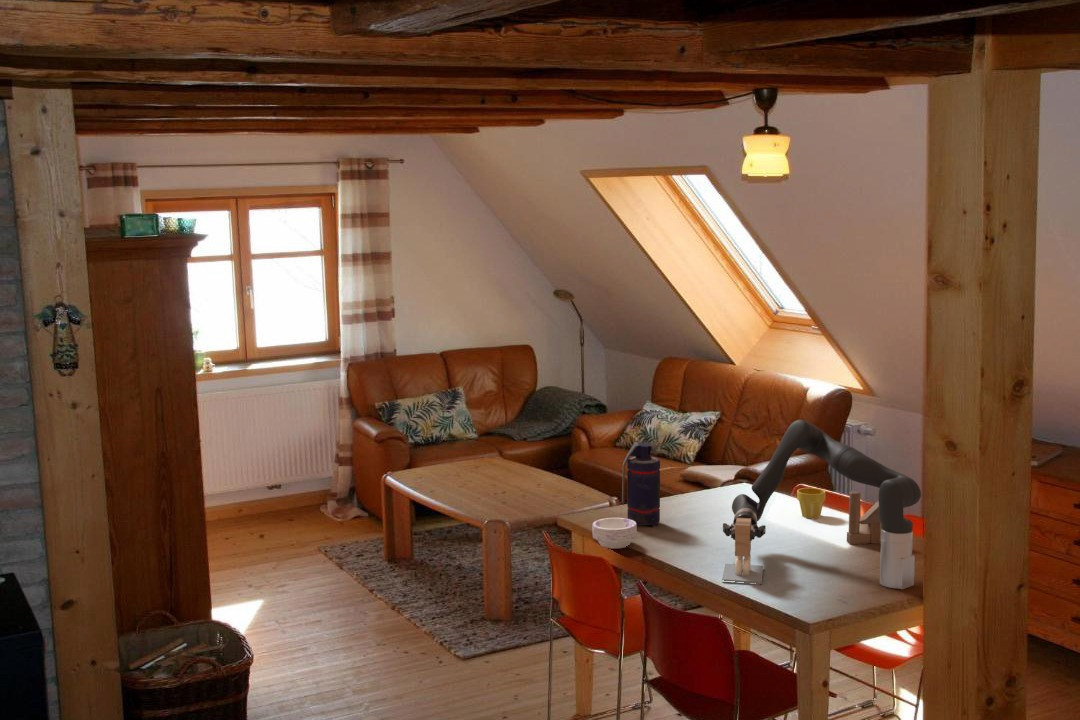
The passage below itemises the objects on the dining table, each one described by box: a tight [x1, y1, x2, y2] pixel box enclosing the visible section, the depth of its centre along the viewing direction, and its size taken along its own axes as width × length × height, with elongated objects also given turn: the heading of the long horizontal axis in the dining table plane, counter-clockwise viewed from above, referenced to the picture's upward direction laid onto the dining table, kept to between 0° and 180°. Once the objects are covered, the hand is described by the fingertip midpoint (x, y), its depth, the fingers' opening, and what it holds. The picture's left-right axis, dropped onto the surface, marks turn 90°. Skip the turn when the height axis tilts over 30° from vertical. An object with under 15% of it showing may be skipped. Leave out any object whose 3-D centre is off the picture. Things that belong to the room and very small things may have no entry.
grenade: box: [621, 441, 661, 527], centre depth 423 cm, size 14×12×30 cm
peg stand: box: [721, 554, 764, 585], centre depth 365 cm, size 16×12×6 cm
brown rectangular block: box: [734, 518, 752, 557], centre depth 364 cm, size 8×4×10 cm, turn 167°
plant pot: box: [796, 487, 827, 519], centre depth 432 cm, size 10×10×10 cm
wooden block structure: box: [846, 490, 881, 546], centre depth 397 cm, size 4×11×18 cm, turn 95°
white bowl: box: [591, 517, 638, 550], centre depth 398 cm, size 15×15×8 cm
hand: (742, 537), depth 360 cm, fingers closed on brown rectangular block, 4 cm apart
